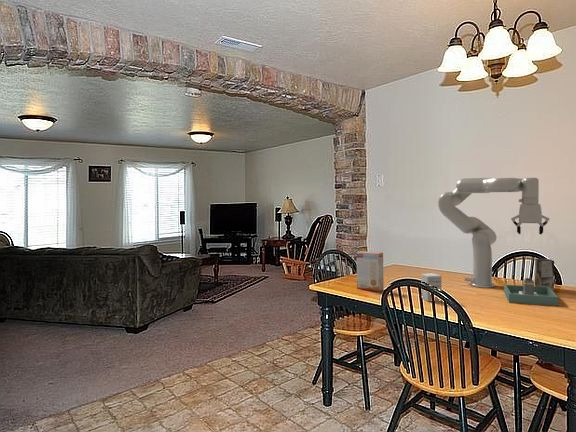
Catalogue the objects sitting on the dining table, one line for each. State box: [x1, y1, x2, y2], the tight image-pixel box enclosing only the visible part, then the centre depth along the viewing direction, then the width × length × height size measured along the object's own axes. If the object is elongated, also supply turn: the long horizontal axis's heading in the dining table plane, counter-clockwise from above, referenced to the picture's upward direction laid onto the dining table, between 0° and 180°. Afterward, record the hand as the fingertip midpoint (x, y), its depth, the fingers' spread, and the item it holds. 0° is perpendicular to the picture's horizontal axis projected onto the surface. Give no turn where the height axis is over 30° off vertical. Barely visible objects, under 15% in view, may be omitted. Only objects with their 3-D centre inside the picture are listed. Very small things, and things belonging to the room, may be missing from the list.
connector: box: [522, 277, 535, 295], centre depth 203 cm, size 4×4×9 cm
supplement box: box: [421, 272, 443, 302], centre depth 202 cm, size 7×7×13 cm
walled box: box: [503, 284, 559, 307], centre depth 201 cm, size 20×22×4 cm
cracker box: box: [356, 250, 385, 292], centre depth 227 cm, size 14×6×21 cm, turn 47°
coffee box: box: [534, 258, 555, 292], centre depth 220 cm, size 9×6×16 cm
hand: (529, 234), depth 214 cm, fingers open, 9 cm apart
